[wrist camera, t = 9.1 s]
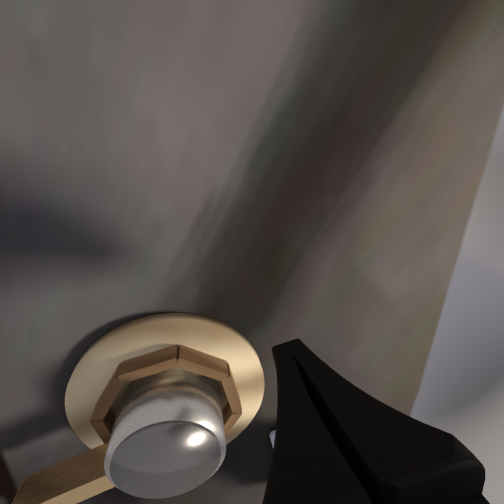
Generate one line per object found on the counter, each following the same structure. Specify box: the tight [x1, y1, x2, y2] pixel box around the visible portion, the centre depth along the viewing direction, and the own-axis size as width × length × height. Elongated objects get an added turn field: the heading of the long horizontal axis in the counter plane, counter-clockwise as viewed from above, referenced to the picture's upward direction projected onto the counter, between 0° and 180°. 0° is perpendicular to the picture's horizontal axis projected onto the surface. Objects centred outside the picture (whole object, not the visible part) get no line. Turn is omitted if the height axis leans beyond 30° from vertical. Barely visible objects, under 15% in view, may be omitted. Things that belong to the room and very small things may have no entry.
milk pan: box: [12, 367, 226, 504], centre depth 20 cm, size 15×8×5 cm, turn 108°
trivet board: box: [65, 313, 264, 449], centre depth 23 cm, size 16×16×2 cm
